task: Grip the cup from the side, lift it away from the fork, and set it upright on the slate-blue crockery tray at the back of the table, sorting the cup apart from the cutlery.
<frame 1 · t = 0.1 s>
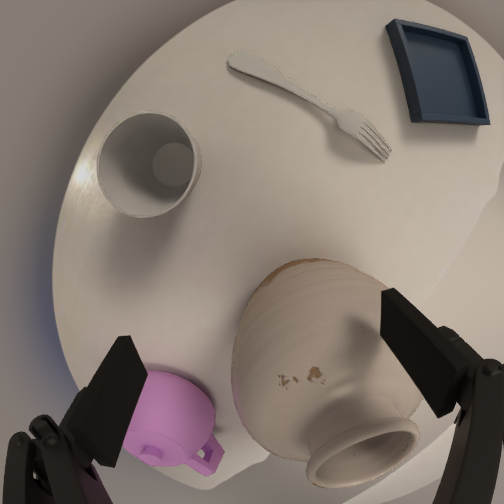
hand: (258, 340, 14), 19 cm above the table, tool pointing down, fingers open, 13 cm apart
tray: (438, 75, 26), on the table
vase: (300, 297, 34), on the table
cup: (174, 164, 29), on the table
teapot: (165, 399, 38), on the table
fork: (314, 103, 27), on the table
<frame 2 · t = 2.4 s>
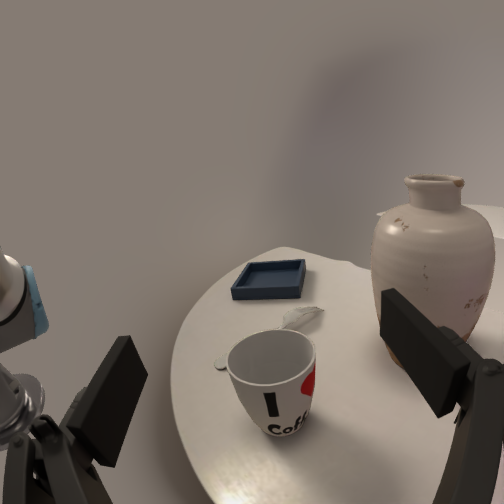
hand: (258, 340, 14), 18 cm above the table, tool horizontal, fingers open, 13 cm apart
tray: (272, 283, 62), on the table
vase: (421, 350, 32), on the table
cup: (281, 419, 28), on the table
fork: (274, 337, 43), on the table
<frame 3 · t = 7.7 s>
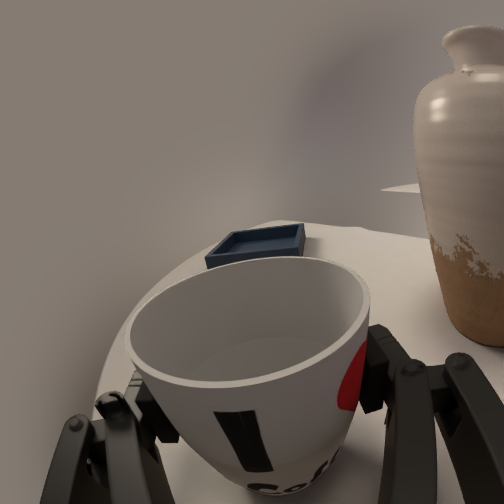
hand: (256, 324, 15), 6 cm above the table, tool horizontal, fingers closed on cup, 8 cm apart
tray: (261, 253, 46), on the table
vase: (493, 316, 18), on the table
cup: (280, 458, 12), on the table, touching gripper
when the fingers open (7 cm above the table, at t = 20.0 s): cup stays where it is, resting on tray.
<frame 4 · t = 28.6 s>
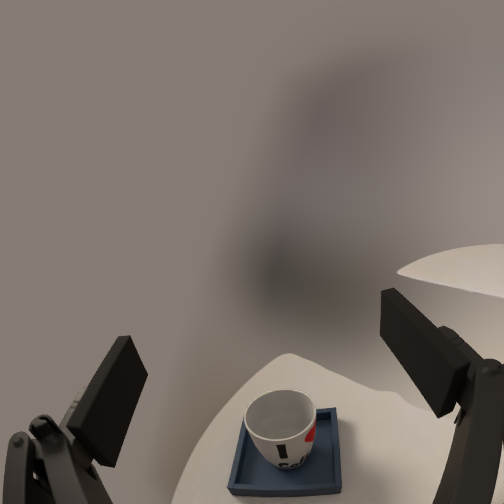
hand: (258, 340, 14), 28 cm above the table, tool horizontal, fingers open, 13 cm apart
tray: (288, 456, 31), on the table
cup: (288, 455, 31), resting on tray
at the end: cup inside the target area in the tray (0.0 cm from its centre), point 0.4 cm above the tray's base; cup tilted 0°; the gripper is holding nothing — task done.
